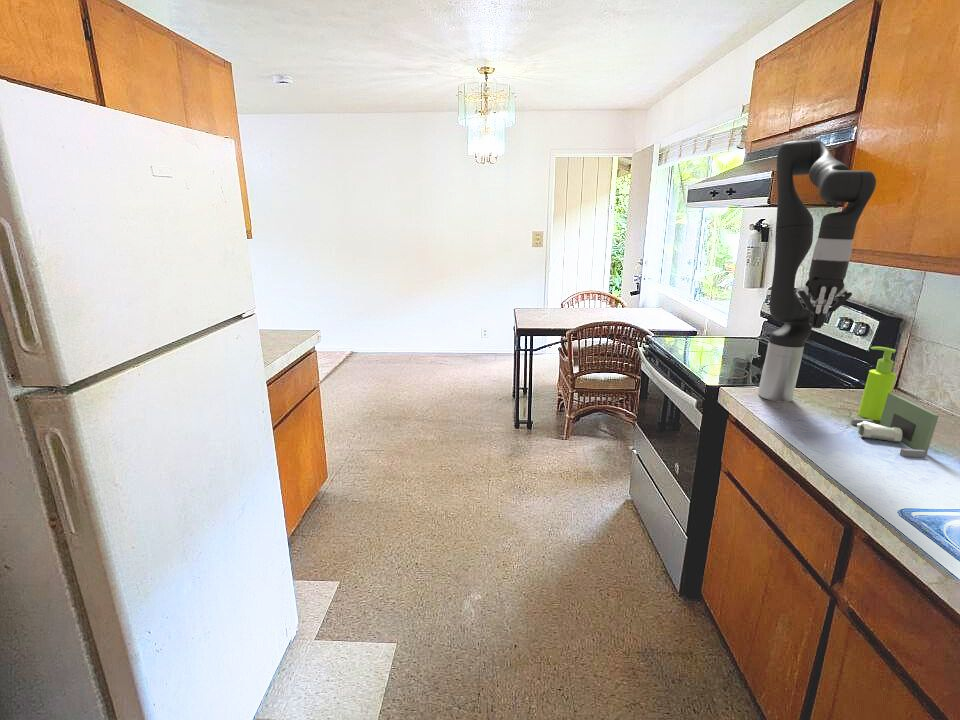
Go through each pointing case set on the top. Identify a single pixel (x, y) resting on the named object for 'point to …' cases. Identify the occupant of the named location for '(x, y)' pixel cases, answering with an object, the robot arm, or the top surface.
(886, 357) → the soap dispenser
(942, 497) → the top surface
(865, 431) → the pipe fitting
